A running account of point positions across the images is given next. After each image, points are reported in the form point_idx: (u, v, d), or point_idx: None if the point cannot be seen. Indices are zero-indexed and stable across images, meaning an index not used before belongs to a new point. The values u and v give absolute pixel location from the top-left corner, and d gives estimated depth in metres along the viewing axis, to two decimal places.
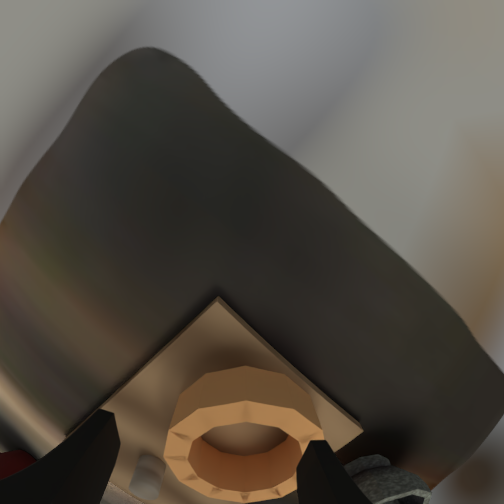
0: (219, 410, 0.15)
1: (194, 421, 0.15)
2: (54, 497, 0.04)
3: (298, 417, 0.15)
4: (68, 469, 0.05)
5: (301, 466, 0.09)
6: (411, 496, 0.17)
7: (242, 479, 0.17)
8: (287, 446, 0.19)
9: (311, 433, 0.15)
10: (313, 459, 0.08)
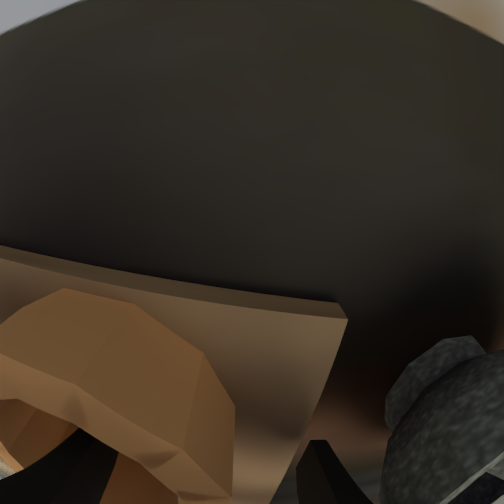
0: None
1: None
2: (54, 497, 0.04)
3: (10, 365, 0.05)
4: (68, 469, 0.05)
5: (301, 466, 0.09)
6: None
7: (156, 498, 0.08)
8: None
9: (67, 398, 0.05)
10: (313, 459, 0.08)
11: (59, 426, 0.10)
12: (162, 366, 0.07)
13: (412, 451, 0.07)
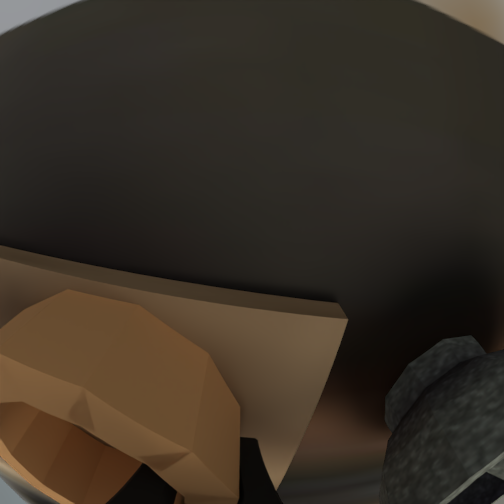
0: None
1: None
2: None
3: (15, 368, 0.05)
4: (153, 496, 0.06)
5: None
6: None
7: None
8: None
9: (74, 401, 0.05)
10: None
11: (62, 428, 0.10)
12: (169, 367, 0.07)
13: (412, 451, 0.07)
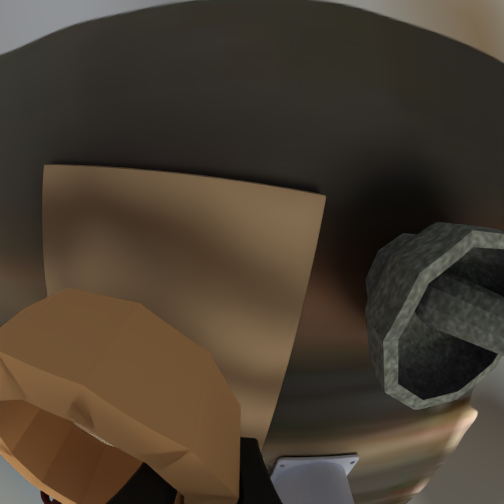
0: None
1: None
2: None
3: (15, 366, 0.05)
4: (154, 496, 0.06)
5: None
6: (496, 268, 0.12)
7: None
8: None
9: (74, 399, 0.05)
10: None
11: (62, 426, 0.10)
12: (169, 366, 0.07)
13: (382, 283, 0.13)
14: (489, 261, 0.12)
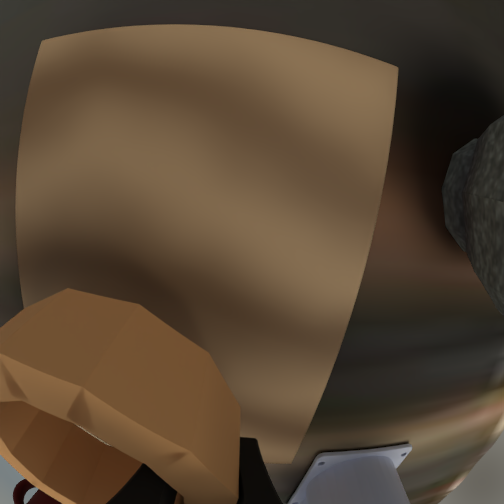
0: None
1: None
2: None
3: (15, 367, 0.05)
4: (154, 496, 0.06)
5: None
6: None
7: None
8: None
9: (73, 400, 0.05)
10: None
11: (62, 427, 0.10)
12: (168, 367, 0.07)
13: (489, 154, 0.07)
14: None
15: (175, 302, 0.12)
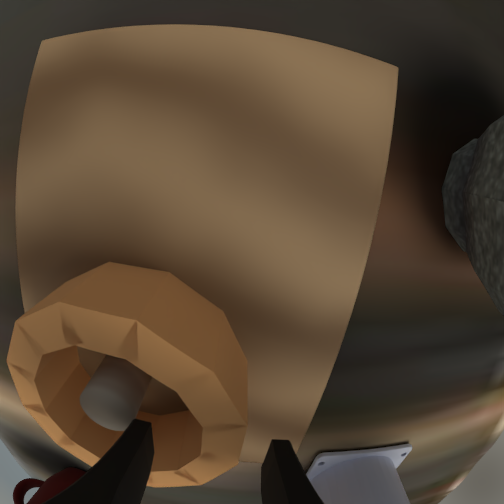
0: (15, 352, 0.08)
1: (19, 381, 0.09)
2: None
3: (77, 313, 0.08)
4: (113, 485, 0.05)
5: (264, 465, 0.09)
6: None
7: (178, 449, 0.11)
8: None
9: (125, 335, 0.08)
10: (272, 459, 0.08)
11: None
12: (194, 316, 0.10)
13: (489, 154, 0.07)
14: None
15: None
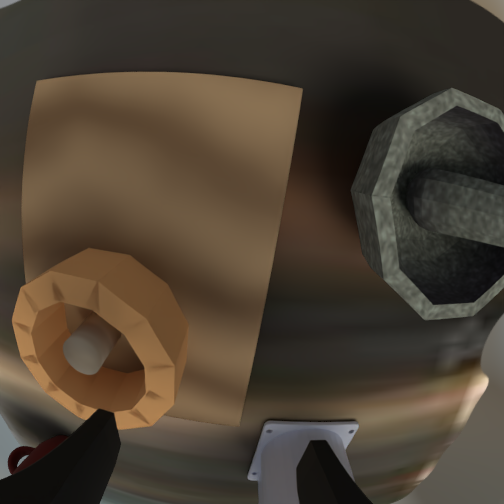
0: (19, 312, 0.12)
1: (20, 335, 0.13)
2: (54, 497, 0.04)
3: (62, 278, 0.12)
4: (68, 469, 0.05)
5: (301, 466, 0.09)
6: (493, 166, 0.11)
7: (135, 395, 0.15)
8: None
9: (91, 291, 0.12)
10: (313, 459, 0.08)
11: None
12: (142, 284, 0.14)
13: (365, 155, 0.11)
14: (484, 156, 0.11)
15: None
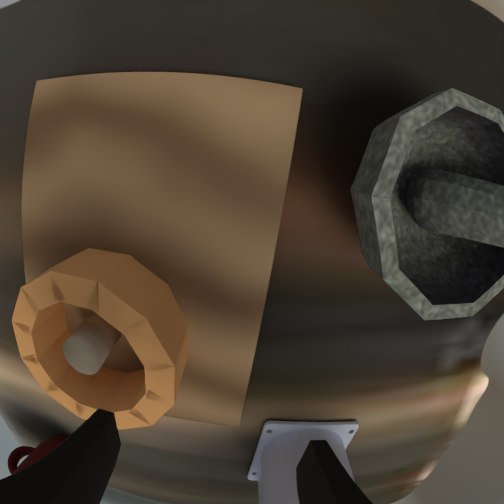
0: (19, 312, 0.12)
1: (20, 335, 0.13)
2: (54, 497, 0.04)
3: (62, 278, 0.12)
4: (68, 469, 0.05)
5: (301, 466, 0.09)
6: (493, 166, 0.11)
7: (135, 395, 0.15)
8: None
9: (91, 291, 0.12)
10: (313, 459, 0.08)
11: None
12: (142, 284, 0.14)
13: (365, 155, 0.11)
14: (484, 157, 0.11)
15: None
